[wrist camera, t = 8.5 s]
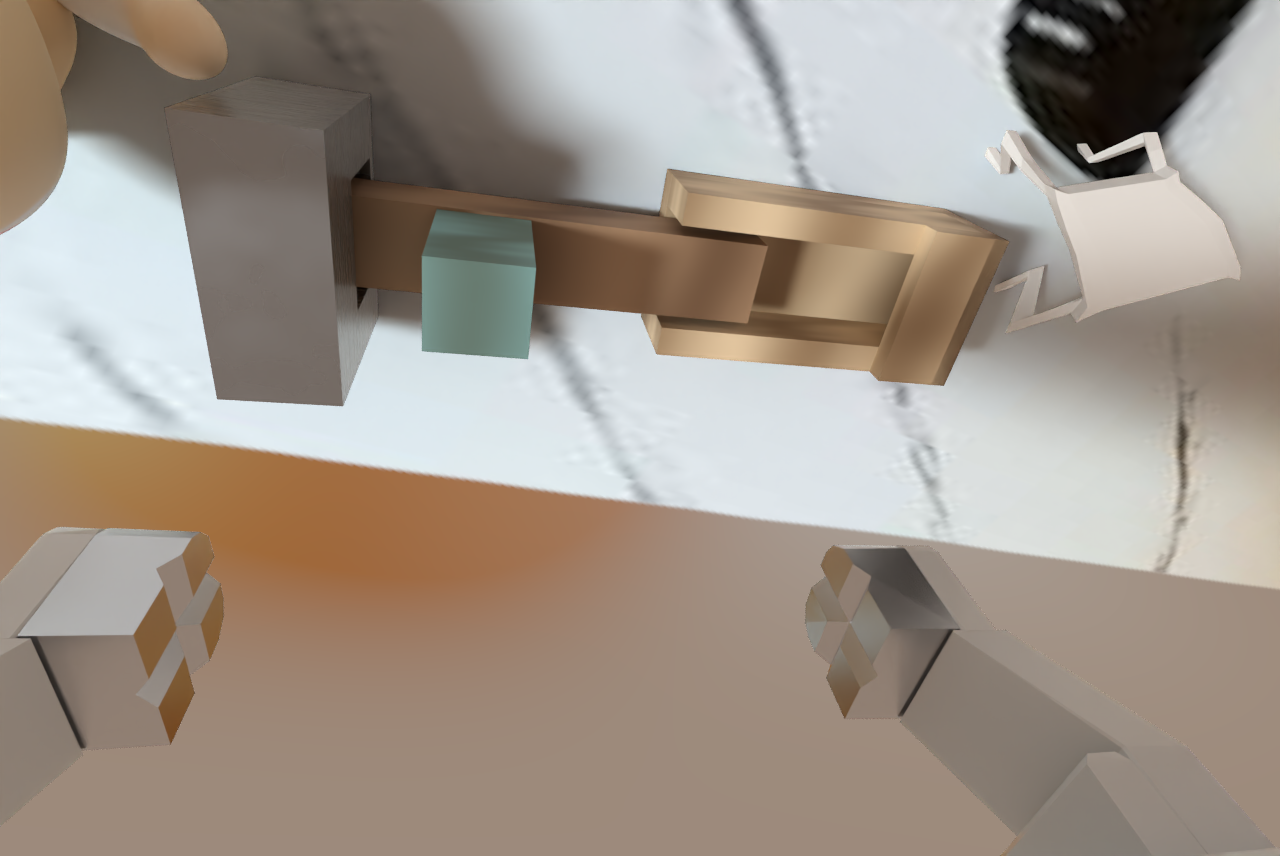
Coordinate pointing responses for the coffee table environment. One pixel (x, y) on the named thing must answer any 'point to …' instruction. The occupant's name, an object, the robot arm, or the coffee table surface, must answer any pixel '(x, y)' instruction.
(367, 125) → the socket block
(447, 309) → the slide bar
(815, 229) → the guide channel
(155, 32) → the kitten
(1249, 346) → the coffee table surface
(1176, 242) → the origami figure
